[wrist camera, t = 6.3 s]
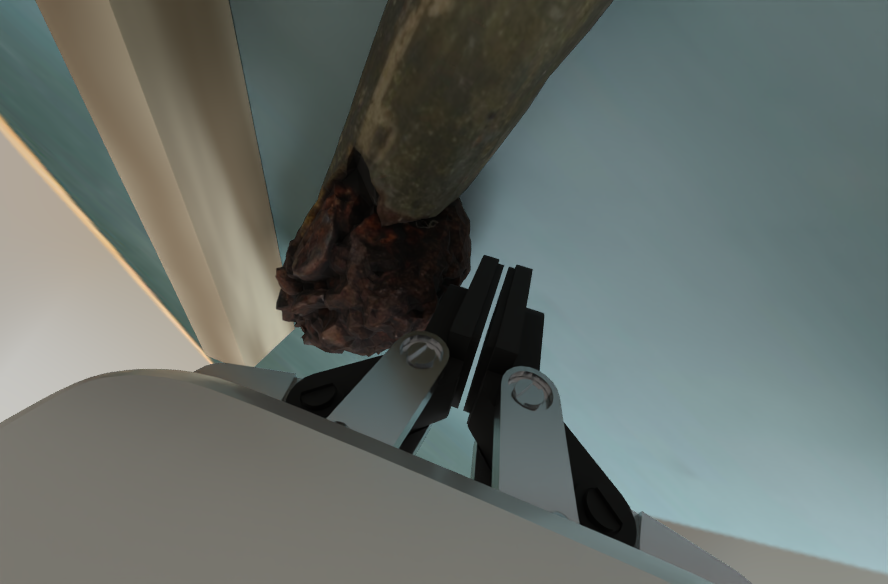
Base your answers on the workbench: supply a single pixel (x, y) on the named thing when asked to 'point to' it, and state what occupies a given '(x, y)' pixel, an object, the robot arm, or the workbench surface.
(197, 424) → the robot arm
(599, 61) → the workbench surface
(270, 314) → the bar
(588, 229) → the workbench surface
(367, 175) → the brown long lumpy piece
